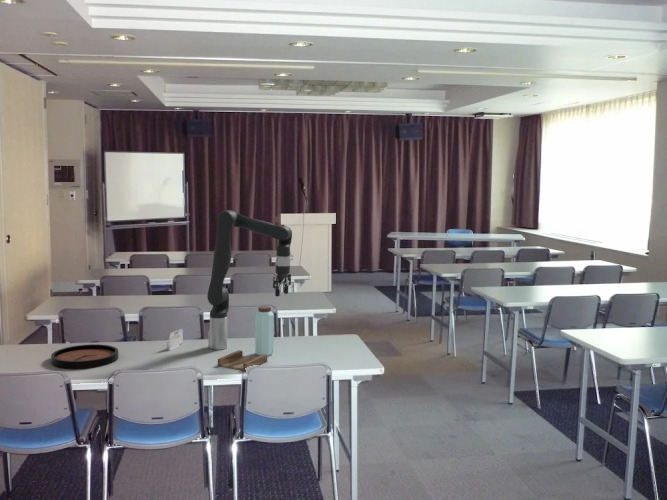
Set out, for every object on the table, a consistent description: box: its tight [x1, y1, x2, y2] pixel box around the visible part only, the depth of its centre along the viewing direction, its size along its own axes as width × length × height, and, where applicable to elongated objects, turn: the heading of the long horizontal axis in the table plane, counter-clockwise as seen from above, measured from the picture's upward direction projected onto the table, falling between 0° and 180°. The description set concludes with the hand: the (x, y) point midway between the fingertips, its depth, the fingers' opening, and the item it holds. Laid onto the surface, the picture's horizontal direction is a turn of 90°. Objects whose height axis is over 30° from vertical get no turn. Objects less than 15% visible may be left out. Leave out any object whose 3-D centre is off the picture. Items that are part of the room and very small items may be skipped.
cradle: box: [217, 349, 268, 371], centre depth 311 cm, size 17×18×4 cm
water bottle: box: [254, 305, 275, 357], centre depth 328 cm, size 10×10×25 cm
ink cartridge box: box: [165, 328, 184, 351], centre depth 337 cm, size 2×11×10 cm, turn 155°
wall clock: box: [50, 343, 120, 370], centre depth 313 cm, size 31×4×31 cm
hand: (281, 294), depth 328 cm, fingers open, 8 cm apart
